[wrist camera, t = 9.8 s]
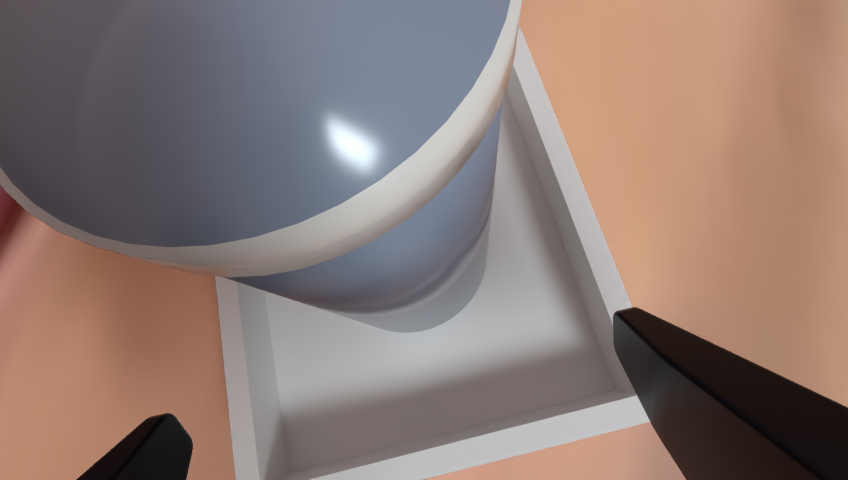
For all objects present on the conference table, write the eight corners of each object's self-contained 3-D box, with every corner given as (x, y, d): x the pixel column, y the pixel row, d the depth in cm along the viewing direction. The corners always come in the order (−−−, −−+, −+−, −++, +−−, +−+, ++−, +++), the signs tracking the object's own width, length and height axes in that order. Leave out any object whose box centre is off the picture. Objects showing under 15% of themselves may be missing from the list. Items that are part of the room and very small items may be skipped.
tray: (638, 404, 16) (675, 415, 13) (281, 496, 16) (240, 526, 13) (508, 62, 20) (514, 13, 17) (235, 141, 21) (197, 106, 18)
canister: (463, 358, 16) (413, 352, 3) (304, 306, 17) (-145, 167, 5) (508, 197, 17) (586, -206, 5) (359, 161, 19) (130, -228, 6)
